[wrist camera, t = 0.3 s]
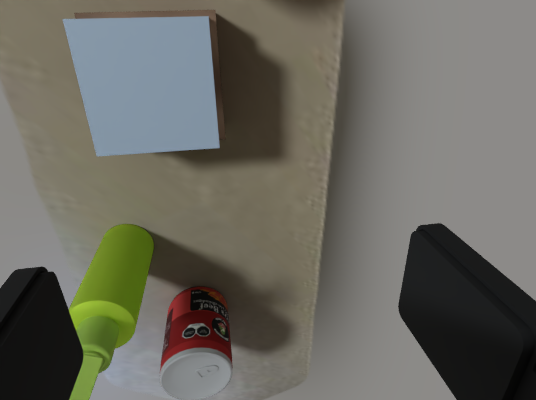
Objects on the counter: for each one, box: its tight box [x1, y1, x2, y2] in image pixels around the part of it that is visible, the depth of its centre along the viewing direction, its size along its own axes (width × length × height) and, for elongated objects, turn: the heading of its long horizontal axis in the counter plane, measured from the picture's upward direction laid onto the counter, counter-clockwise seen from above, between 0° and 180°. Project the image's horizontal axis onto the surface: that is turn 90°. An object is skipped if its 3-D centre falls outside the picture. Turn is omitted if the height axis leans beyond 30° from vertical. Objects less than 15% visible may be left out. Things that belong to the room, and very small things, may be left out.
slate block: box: [63, 16, 220, 156], centre depth 29 cm, size 10×10×4 cm
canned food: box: [160, 287, 233, 400], centre depth 43 cm, size 8×8×11 cm
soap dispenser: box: [69, 224, 154, 400], centre depth 33 cm, size 6×7×20 cm
